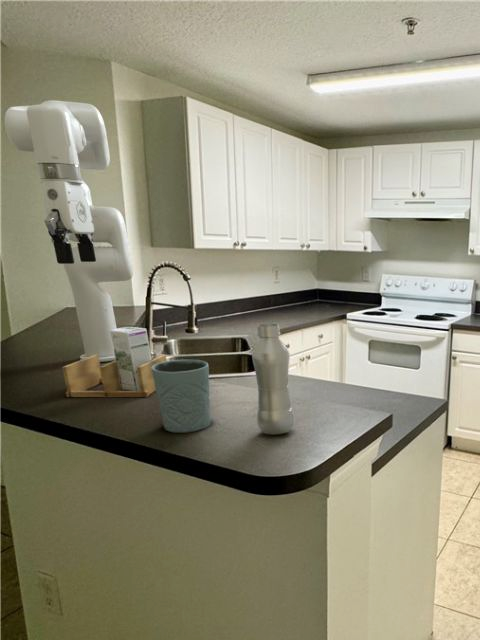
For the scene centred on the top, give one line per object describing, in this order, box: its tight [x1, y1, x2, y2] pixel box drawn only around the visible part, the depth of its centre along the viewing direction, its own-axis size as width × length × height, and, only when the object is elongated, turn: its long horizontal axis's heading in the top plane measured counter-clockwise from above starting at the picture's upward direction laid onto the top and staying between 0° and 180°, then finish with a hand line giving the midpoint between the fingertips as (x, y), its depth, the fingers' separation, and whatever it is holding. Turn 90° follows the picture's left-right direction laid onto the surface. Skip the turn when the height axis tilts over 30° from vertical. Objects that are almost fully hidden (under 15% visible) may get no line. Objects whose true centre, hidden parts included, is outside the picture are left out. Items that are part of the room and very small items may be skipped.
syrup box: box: [110, 326, 153, 391], centre depth 129 cm, size 6×6×14 cm
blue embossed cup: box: [151, 359, 212, 434], centre depth 104 cm, size 10×10×12 cm
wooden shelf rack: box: [61, 353, 167, 398], centre depth 130 cm, size 14×18×7 cm
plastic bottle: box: [251, 323, 295, 435], centre depth 99 cm, size 6×7×20 cm
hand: (77, 262), depth 118 cm, fingers open, 9 cm apart
